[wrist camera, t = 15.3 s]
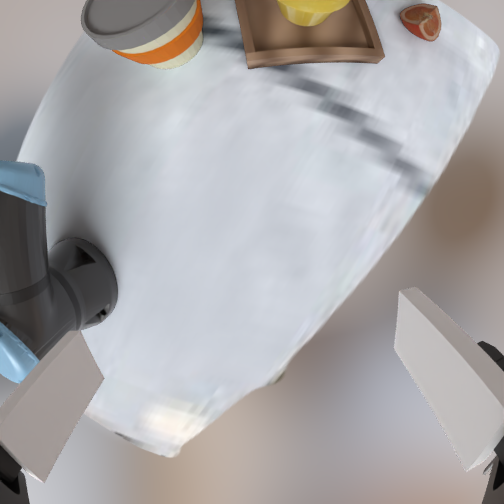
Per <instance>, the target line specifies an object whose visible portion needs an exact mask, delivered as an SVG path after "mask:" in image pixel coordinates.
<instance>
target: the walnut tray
mask: <svg viewBox="0 0 504 504" xmlns="http://www.w3.org/2000/svg"><path fill="white" fill-rule="evenodd" d="M235 4H236V9H237V14H238V18H239V23H240V28H241V33H242V38H243V44H244V49H245V54H246V59H247V65H248V69H253V68H261V67H269V66H278V65H289V64H303V63H327V62H352V63H376V64H377V63H378V62H380V61H381V60H382V59H383V58H384V57H385V55H384V52H383V48H382V45H381V42H380V39H379V36H378V33H377V30H376V27H375V25H374V22H373V19H372V16H371V14H370V11H369V9H368V6H367V4H366V1H365V0H350V1H349V2H348V3H347V5H346V6H344V7H343V8H341V9H339V10H337V11H334V12H332V13H331V14H330V15H329V16H328V17H327V18H326V19H325V20H324V21H323V22H322V23H320V24H318V25H315V26H300V25H297V24H294V23H292V22H290V21H289V20H287V19H286V18H285V17H284V16H283V15H282V13H281V11H280V8H279V5H278V3H277V0H235Z"/></svg>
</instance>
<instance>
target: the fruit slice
mask: <svg viewBox="0 0 504 504" xmlns="http://www.w3.org/2000/svg"><path fill="white" fill-rule="evenodd" d="M400 18H401V20H402V23H403V24H404V26H405V27H406V28H407V29H408V30H409V31H410V32H411V33H413V34H414V35H416V36H417V37H419V38H421V39H424V40H427V41H434V40H435V39H436V38H437V37H438V35H439V33H440V30H441V20H440V14H439V11H438V8H437V6H434V5H430V4H418V5H414V6H411V7H408V8H406V9H404V10H403V11H402V12H401V13H400Z"/></svg>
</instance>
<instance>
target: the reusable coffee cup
mask: <svg viewBox="0 0 504 504" xmlns="http://www.w3.org/2000/svg"><path fill="white" fill-rule="evenodd" d="M81 24H82V27H83V30H84V31H85V32H86V33H87V34H88V35H89V36H90V37H91V38H92V39H93V40H94V41H95V42H96V43H97V44H98V45H100V46H102V47H103V48H106V49H110V50H112V51H113V52H115V53H117V54H118V55H121V56H123V57H126V58H128V59H130V60H133V61H135V62H138V63H141V64H149V65H151V66H153V67H156V68H159V69H172V68H176V67H179V66H182V65H183V64H185V63H187V62H188V61H190V60H191V59H192V58H193V57H194V56H195V55H196V54H197V53H198V51H199V50H200V48H201V46H202V42H203V34H202V26H203V15H202V8H201V2H200V0H87V1H86V3H85V5H84V7H83V10H82V15H81Z"/></svg>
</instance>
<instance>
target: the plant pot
mask: <svg viewBox="0 0 504 504" xmlns="http://www.w3.org/2000/svg"><path fill="white" fill-rule="evenodd" d="M349 1H350V0H277V3H278V5H279V8H280V11H281V13H282V15H283V16H284V17H285V18H286V19H287V20H289V21H290V22H292V23H294V24H297V25H300V26H315V25H318V24H320V23H322V22H323V21H324V20H325V19H326V18H327V17H328V16H329V15H330V14H331V13H332V12H334V11H337V10H339V9H341V8H343V7H344V6H346V5H347V3H348V2H349Z"/></svg>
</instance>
